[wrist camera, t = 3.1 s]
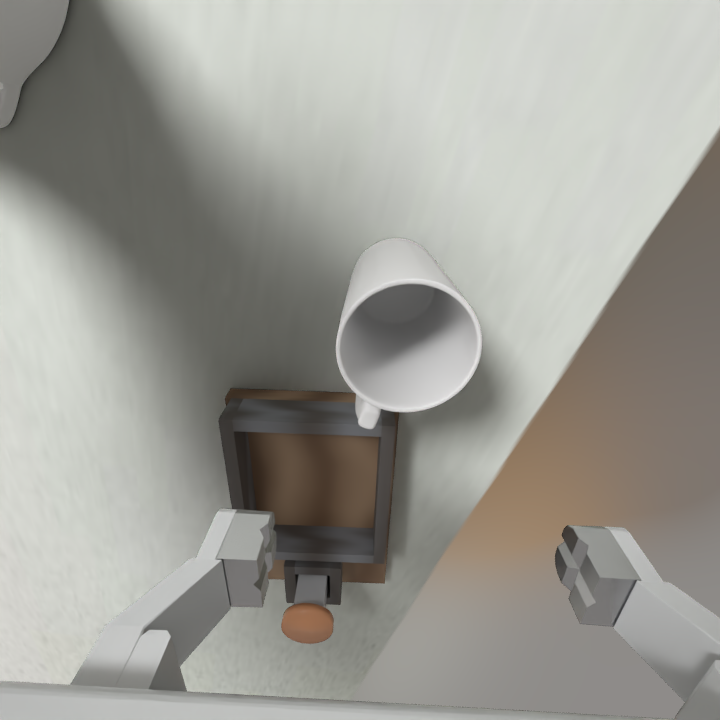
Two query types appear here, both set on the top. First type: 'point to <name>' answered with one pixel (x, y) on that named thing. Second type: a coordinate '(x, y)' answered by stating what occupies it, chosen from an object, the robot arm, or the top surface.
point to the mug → (404, 332)
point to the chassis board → (313, 481)
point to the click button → (309, 611)
